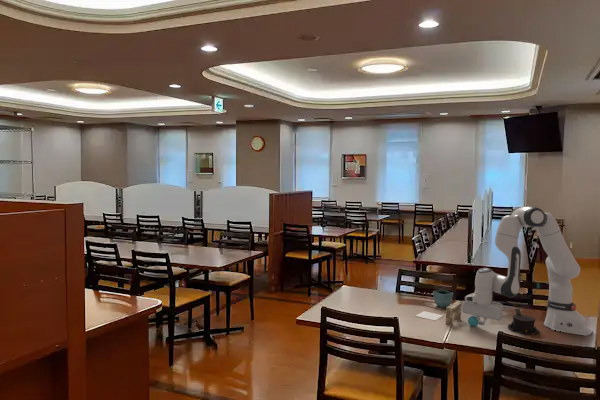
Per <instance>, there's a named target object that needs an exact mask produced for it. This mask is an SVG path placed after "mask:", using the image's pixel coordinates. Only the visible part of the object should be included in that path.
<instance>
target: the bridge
mask: <svg viewBox="0 0 600 400" xmlns="http://www.w3.org/2000/svg"><path fill="white" fill-rule="evenodd" d="M445 311H446V312H445V325H448V326H452V325H453V320H459V321H460V320H461V317H462V302H457V301H456V302H454V303H451V304H450V305H449V306H448V307H445Z"/></svg>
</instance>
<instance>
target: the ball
mask: <svg viewBox="0 0 600 400" xmlns="http://www.w3.org/2000/svg"><path fill="white" fill-rule="evenodd" d="M467 323H468V324H469V325H470V326H471V327H477V326H478V325H479V324H478V320H477V318H476V316H475V315H471V316H469V317H468V319H467Z"/></svg>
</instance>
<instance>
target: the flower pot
mask: <svg viewBox="0 0 600 400" xmlns="http://www.w3.org/2000/svg"><path fill="white" fill-rule="evenodd" d="M432 294H433V300H434V303H435V304H436V306H438V307H440V308H442V309H444V308H446V307H448V306H450V305H452V302H453V297H454V292H451V291H448V290H445V289H439V290H434V291H432Z"/></svg>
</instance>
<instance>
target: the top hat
mask: <svg viewBox="0 0 600 400" xmlns="http://www.w3.org/2000/svg"><path fill="white" fill-rule="evenodd" d="M535 323H536V318H535V317H533V316H529V315H525V314H522V312H521V310H520V308H516V309H515V314H512V321H511V323H509V324H508V325H507V328H508V330H510V331H511V332H513V333H516V334H519V335H524V336H526V335H535V334H538V333H540V330H539V329H538V328H537V327H536V325H535Z"/></svg>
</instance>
